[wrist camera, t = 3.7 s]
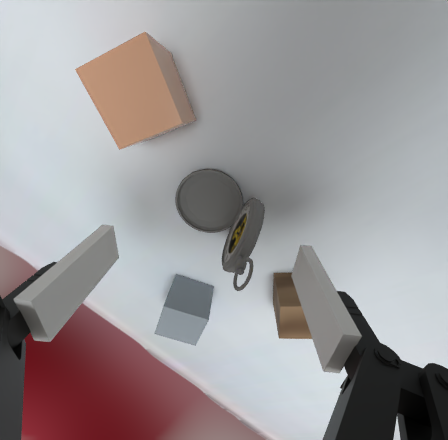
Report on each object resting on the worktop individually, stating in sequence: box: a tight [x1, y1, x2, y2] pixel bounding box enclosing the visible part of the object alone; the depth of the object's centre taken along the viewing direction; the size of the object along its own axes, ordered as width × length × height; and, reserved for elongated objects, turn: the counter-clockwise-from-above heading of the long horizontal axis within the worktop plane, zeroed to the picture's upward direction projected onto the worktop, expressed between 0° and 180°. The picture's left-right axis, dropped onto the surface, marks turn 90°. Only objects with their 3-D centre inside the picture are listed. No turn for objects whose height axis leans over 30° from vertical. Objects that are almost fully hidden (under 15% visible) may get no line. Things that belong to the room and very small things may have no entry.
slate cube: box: [154, 274, 214, 346], centre depth 26 cm, size 5×5×5 cm
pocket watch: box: [175, 169, 265, 291], centre depth 17 cm, size 8×8×10 cm
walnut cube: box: [273, 272, 312, 339], centre depth 24 cm, size 5×5×5 cm
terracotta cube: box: [75, 32, 196, 150], centre depth 16 cm, size 5×5×5 cm
